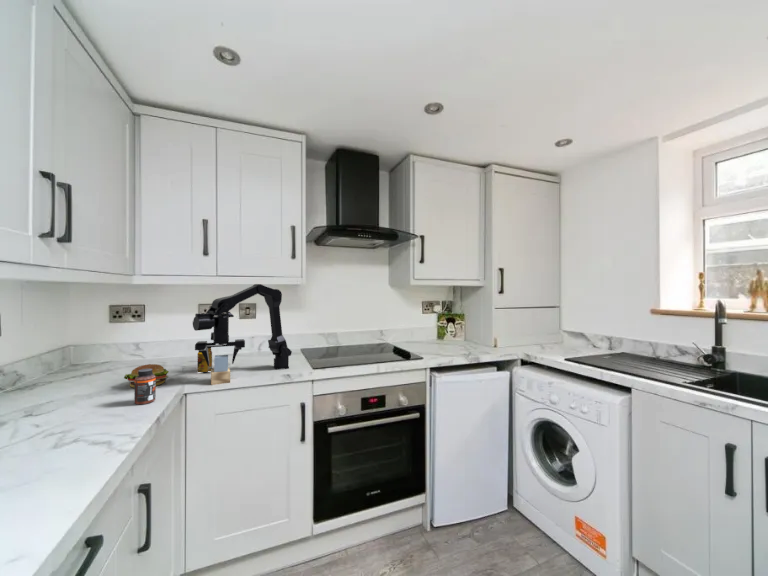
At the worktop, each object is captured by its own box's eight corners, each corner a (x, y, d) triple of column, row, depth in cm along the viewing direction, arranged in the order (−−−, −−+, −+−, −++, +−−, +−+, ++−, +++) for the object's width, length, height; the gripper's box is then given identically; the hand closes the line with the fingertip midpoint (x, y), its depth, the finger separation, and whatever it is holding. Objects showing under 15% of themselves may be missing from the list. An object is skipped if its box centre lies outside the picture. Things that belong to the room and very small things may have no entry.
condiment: (193, 373, 148) (193, 347, 148) (203, 368, 157) (203, 344, 157) (208, 373, 148) (209, 347, 148) (218, 368, 157) (218, 344, 157)
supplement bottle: (157, 402, 112) (157, 370, 112) (135, 406, 108) (135, 373, 107) (153, 397, 116) (154, 366, 116) (133, 401, 112) (133, 369, 112)
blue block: (227, 368, 140) (228, 354, 140) (227, 371, 135) (227, 357, 135) (215, 369, 138) (215, 355, 138) (214, 372, 133) (214, 357, 133)
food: (155, 377, 141) (156, 359, 141) (174, 382, 135) (174, 363, 135) (118, 385, 129) (118, 366, 129) (136, 391, 122) (137, 371, 122)
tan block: (228, 378, 141) (229, 367, 141) (230, 383, 135) (230, 371, 135) (210, 381, 138) (211, 369, 138) (211, 385, 132) (211, 373, 131)
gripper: (245, 325, 147) (244, 358, 147) (198, 326, 140) (198, 362, 140) (245, 328, 137) (244, 364, 137) (194, 330, 130) (194, 368, 130)
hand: (220, 364), depth 136 cm, fingers open, 9 cm apart
